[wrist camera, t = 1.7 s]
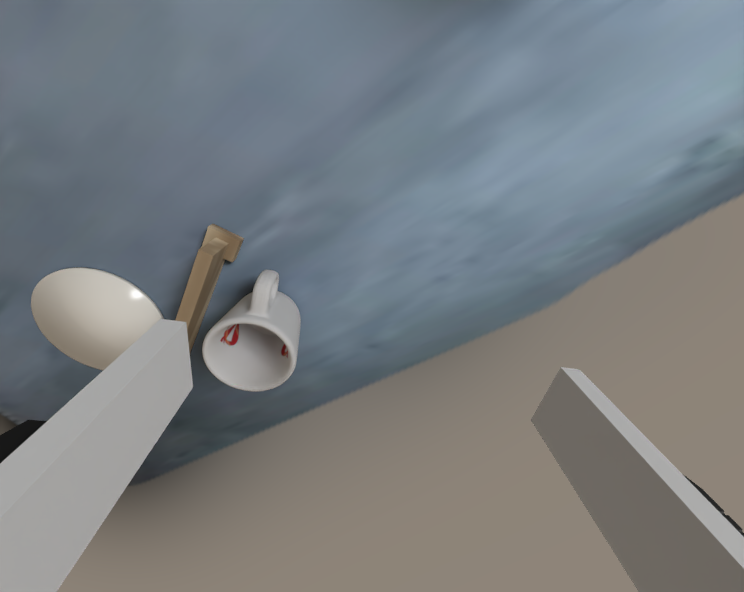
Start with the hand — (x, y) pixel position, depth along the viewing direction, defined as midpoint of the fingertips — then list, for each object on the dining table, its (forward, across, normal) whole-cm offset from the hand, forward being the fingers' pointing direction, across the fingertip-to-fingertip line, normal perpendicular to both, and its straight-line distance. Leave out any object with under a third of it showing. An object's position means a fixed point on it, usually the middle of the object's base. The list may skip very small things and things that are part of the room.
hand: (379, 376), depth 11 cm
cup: (+21, -8, -10) cm, 25 cm away
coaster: (+21, -26, -15) cm, 37 cm away
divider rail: (+21, -17, -13) cm, 30 cm away
